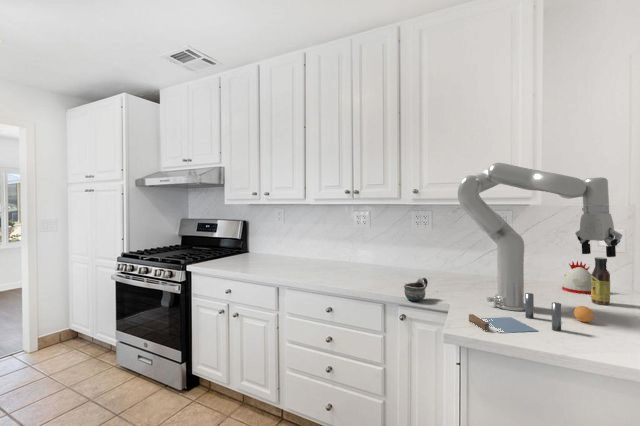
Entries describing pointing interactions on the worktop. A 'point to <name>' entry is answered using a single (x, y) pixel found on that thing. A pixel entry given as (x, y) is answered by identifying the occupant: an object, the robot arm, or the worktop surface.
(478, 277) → the worktop surface
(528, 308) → the base side post
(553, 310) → the edge side post
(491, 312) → the worktop surface
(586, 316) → the ball
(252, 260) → the worktop surface
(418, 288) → the mug
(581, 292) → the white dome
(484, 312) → the worktop surface
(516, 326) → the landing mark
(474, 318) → the wall
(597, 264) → the sauce bottle
